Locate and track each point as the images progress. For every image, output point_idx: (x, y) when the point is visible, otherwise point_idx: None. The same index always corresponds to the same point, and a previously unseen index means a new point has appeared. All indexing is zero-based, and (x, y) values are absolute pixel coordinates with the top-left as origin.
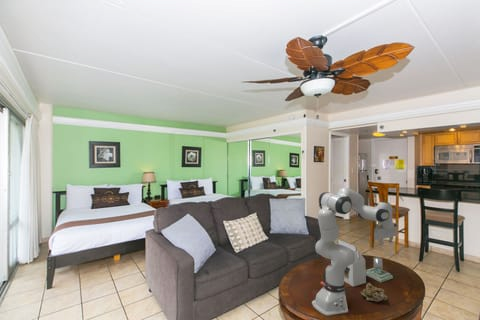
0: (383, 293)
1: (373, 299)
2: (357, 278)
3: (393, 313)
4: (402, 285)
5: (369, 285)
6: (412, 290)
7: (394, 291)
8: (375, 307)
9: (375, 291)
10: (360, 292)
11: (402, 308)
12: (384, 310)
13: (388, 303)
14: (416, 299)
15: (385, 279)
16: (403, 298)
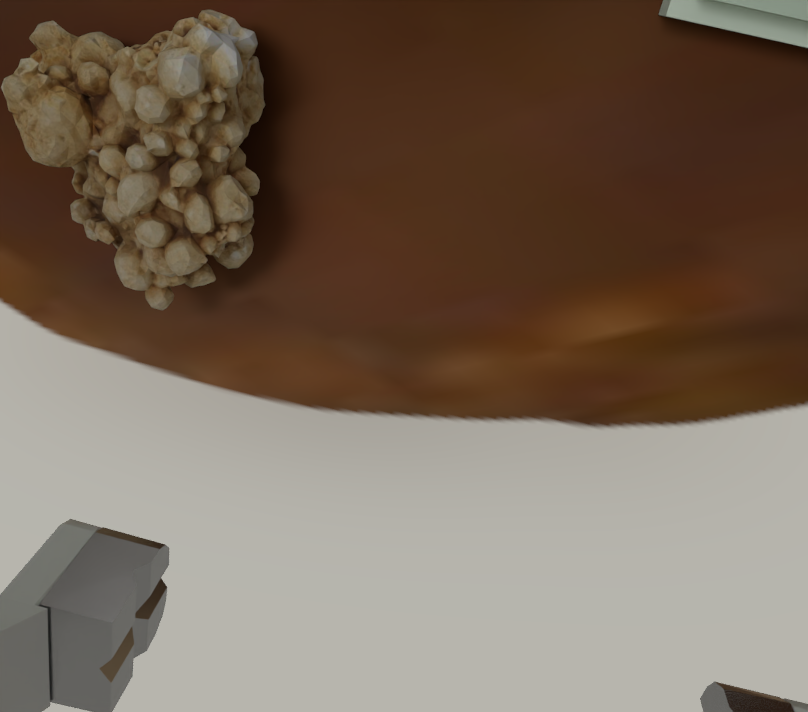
0: (160, 273)
1: (82, 185)
2: None
3: (122, 354)
4: (788, 242)
5: (138, 96)
6: (730, 351)
7: (538, 230)
8: (53, 221)
9: (116, 195)
10: (38, 26)
11: (266, 380)
12: (90, 291)
13: (231, 274)
14: (544, 420)
15: (774, 40)
16: (457, 338)
